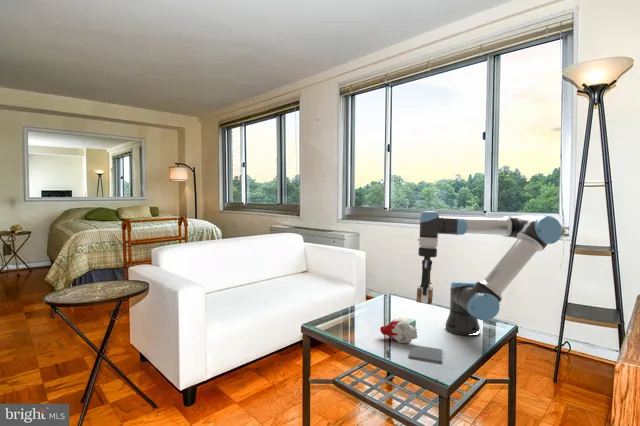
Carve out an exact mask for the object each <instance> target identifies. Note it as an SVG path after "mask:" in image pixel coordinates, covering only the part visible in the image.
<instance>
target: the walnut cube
mask: <svg viewBox="0 0 640 426" xmlns="http://www.w3.org/2000/svg"><path fill="white" fill-rule="evenodd" d="M428 288H429V290H428V303H424V304H426V305H432V302H433V296H434V287H433V286H430V287H428ZM416 289H417V290H416V303H421V304H423V303H422V302H421V292H422V287H420V285H418V286H417V288H416Z"/></svg>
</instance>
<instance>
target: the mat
mask: <svg viewBox="0 0 640 426" xmlns="http://www.w3.org/2000/svg"><path fill="white" fill-rule="evenodd" d="M408 359H413V360H418V361H425V362H432V363H435V364H441V365H442V364H443V349H442V348H437V347H430V346H423V345H416V344H411V345H410V348H409V352H408Z"/></svg>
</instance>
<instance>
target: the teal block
mask: <svg viewBox="0 0 640 426" xmlns="http://www.w3.org/2000/svg"><path fill="white" fill-rule="evenodd" d="M408 319H409V325H411V326H413V327H414V328H416V329H417V327H416V326H417V325H416V324H417V322H416V321H417V320H416V319H412V318H408Z"/></svg>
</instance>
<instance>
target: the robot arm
mask: <svg viewBox="0 0 640 426" xmlns="http://www.w3.org/2000/svg"><path fill="white" fill-rule="evenodd" d="M419 217H420V219H419V236H418V237H419V238H417V241H418V246H419V247H418V256H420V257H423V259H422V260H421V265H422V266H421V271H422V276H421V285H419V286H420V287H422V292H421V302H422V303H421V304H425V303H428V290H429V288H428V287H431V285H432V282H431V272H432V266H433V260H431V258H436V257H437V255H438V248H437V247H438V243H439V242H438V241H439V240H438V239H439V236H438V235H455V236H459V235H460V236H463V235H465V234H472V235H473V234H475V235H476V234H478V235H500V236H502V237H505V238H514V239H516V241H515V242H513V243H514V244H512V246H511V247H510V248H509V249H508V251H506V253H505V254H504V255H503V257H501V259H500V260H499V261H498V263H496V265H495V266H494V267H493V268H492V270H491V271H490V272H489V273H488V275H486V277H485V278H484V280H478V281H476V282H473V281H452V282H451V283H450V288H449V290H450V294H449V296H450V299H449V300H450V301H449V314H448V317H447V319H446V322H445V327H446V328H445V329H446V331H448V332H449V333H451V334H454V335H458V334H459V336H463V335H469V334H473V333H476V332H477V331H479V329H480V330H481V327H480V323H479V321H489V320H492V319H494V318H495V317H497V315H498V314H499V312H500V310H501V309H500V305H501V304H500V302H501V301H502V300H503V297H502V294H503V293H504V291H505V290H506V289H507V288H508V287H509V286H510V284H511V283H512V282H513V281H514V280H515V278H516V277H517V276H518V274H519V273H520V272H521V271H522V270H523V269H524V267H525V266H526V265H527V263H528V262H530V260H531V259H532V257H534V255H535V254H536V253H537V252H543V251H544V249H546V247H547V246H548V245H551V244H555V243H557V242H559V240H560V239H561V238H562V234H563V229H562V225H561V223H560V221H559V220H558V219H556V218H555V217H554V216H551V215H545V214H542V215H534V214H533V215H531V214H524V215H516V216H514V215H513V216H503V217H502V218H498V217H495V218H494V217H472V216H471V217H465V216H464V217H462V216H461V217H460V216H440V213H439V212H438V211H429V210H427V211H426V210H424V211H422V212H421V213H420V216H419Z"/></svg>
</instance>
